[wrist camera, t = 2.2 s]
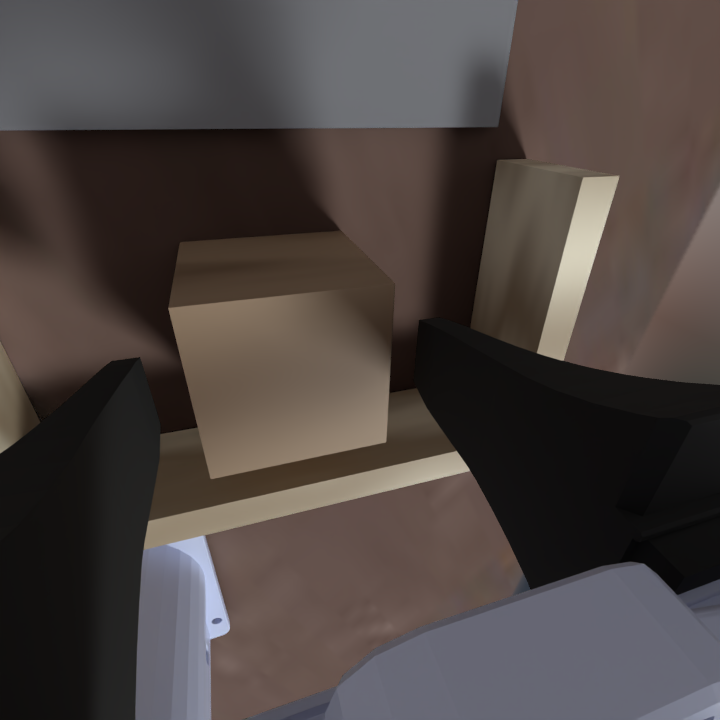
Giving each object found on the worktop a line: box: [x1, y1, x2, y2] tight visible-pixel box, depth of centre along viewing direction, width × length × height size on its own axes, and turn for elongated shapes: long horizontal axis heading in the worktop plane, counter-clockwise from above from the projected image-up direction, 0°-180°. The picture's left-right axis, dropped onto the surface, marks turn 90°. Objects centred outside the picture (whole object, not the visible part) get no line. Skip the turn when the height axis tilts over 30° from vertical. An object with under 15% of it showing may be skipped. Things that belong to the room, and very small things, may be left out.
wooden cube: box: [168, 231, 395, 479], centre depth 13 cm, size 5×5×5 cm
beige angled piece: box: [0, 159, 619, 550], centre depth 13 cm, size 10×18×4 cm, turn 90°
